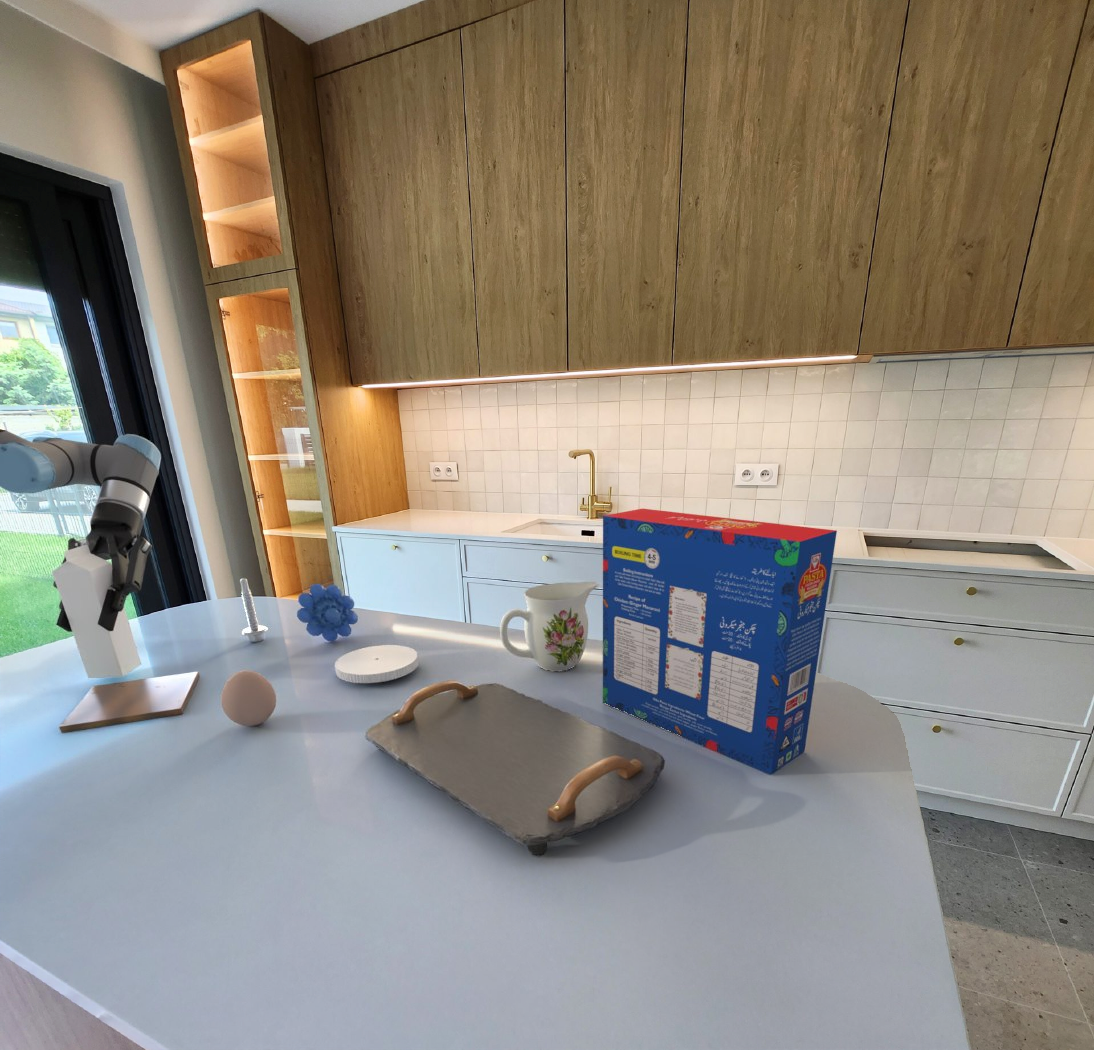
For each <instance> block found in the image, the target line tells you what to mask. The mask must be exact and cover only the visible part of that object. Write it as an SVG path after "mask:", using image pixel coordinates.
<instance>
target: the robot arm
mask: <svg viewBox="0 0 1094 1050" xmlns="http://www.w3.org/2000/svg"><path fill="white" fill-rule="evenodd" d="M161 459H162V454H161V452H160V450H159V448H158V447H157V446H156V445H155V444H154V443H153V442H151V440H148V439H147V438H145V437H143V436H139V435H137V434H130V433H126V434H124V435H123V434H122V435H120V436H118V437H117V438H116V440H115V441H114V443H113V445H110V444H109V445H108V444H96V443H89V442H83V441H77V440H71V439H63V438H61V437H46V436H37V437H35V438H33V439H32V441H30V440H28V439H26V438H24V437H22V436H19V435H17V434H15V433H13V432H11V431H8V430H6V429H5V428H3V427H1V426H0V488H1V489H3V490H5V491H8V492H10V493H13V494H14V493H15V494H37V493H41V492H43V491H44V492H45V491H47V490H53V489H58V488H63V487H68V486H74V485H83V486H84V485H85V486H92V487H93V486H94V487H100V489H99V491H98V495H97V498H96V501H95V505H94V507H93V510H92V513H91V515H90V516H91V517H90V518H89V525H90V531H89V532H88V534H87V535H86V536H85V538H82V539H78V540H77V539H76V538H74V537H71V538H69V539H68V541H67V550H71V549H74V548H77V547H80V546H84V545H88V547H89V550H90V553H91V554H93V555H95V556H97V557H100V558H102V559H104V560H106V561H108V560H109V561H110V563H111V565H112V575H113V584H112V585H113V586H112V585H111V587H113V588H114V589H115V591H114V590H112V589H108V590H107V594H106V597H105V600H104V604H103V607H102V610H101V614H100V617H99V620H98V625H100V626H101V627H103V628H105V629H106V630H108V631H113V630H114V626H115V623H116V619H117V616H118V612H119V611H122V610H123V607H124V608H125V603H126V600H127V597H128V596H130V594H131V593H136V594H138V593H140V592H141V590H142V585H143V582H144V581H143V580H144V575H145V570H146V565H147V559H148V555H149V554H150V552H151V551H152V548H153V545H152V544H151V542H149V541H148V540H147V539H146V538H145V537H143V536H141V533H142V529H143V526H144V520H145V518H146V514H147V511H148V509H149V505H150V500H151V496H152V493H153V490H154V488H155V484H156V480H157V478H158V476H159V472H160V471H159V470H160V465H161ZM129 553H130V555H129ZM65 562H66V557H65V556H64V558H63V560H62V562H61V565H62V564H63V563H65ZM52 586H53V587H54V588H55V589H57V590H58V588H57V585H56V582H55V580H54V581H53V584H52ZM58 609H59V610H60V611H59V614H58V617H57V620H56V626H57V627H59V628H61V629H63V630H65V631H66V632H67V633H73V632H72V629H71V626H70V623H69V620H68V617H67V615H66V612H65V609H64V606H63V603H62V600H61V599H60V602H59V605H58Z"/></svg>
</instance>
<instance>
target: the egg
mask: <svg viewBox="0 0 1094 1050" xmlns="http://www.w3.org/2000/svg"><path fill="white" fill-rule="evenodd" d="M224 683H225V684H224V686H223V688H222V692H221V696H220V700H221V707H222V710H223V712H224V714H225V716H226V717H227V718H228V719H229V720H231V721H233V723H235V724H238V725H240V726H244V727H254V726H255V727H256V726H258V725H262V724H263V723H264V722H266V721H267V720H268V719H269V718H270V717H271V716H272V714H273V713H274V710H275V709H276V706H277V695H276V691H275V689H274V687H273V685H272V684H271V682H270V681H269V680H268V679H267V678H266V677H265V676H263V675H262V674H260V673H259V672H256V671H254V670H249V669H248V670H247V669H245V670H244V669H243V670H240V671H237V672H235V673H233V674H232V675H231V676H230V677H229V678H228V679H227V680H226V681H225V682H224Z"/></svg>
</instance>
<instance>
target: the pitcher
mask: <svg viewBox="0 0 1094 1050" xmlns="http://www.w3.org/2000/svg"><path fill="white" fill-rule="evenodd" d="M599 586H600V582H598V581H582V582H581V581H580V582H556V583H554V582H553V583H545V584H542V585H536V586H534V587H533V586H532V587H530V588H528V589H526V590H525V591H524V598H525V602H526V606H527V607H526V610H524V609H521V608H512V609H510V610H508V611H506V613H505V614H504V615H503V616H502V618H501V620H500V624H499V636H500V641H501V643H502V645H503V647H504V648H505V649H506V650H507V651H508V652H509V653H510V654H512V655H513V656H516V657H519V658H527V659H529V658H530V659H533V660H534V662H535V663H536V664H537V665H538V667H539V666H540V667H541V668H543V669H545V670H544V671H547V670H552V671H551V672H554V671H558V672H560V671H559V670H566V669H569V668H571V667H573V666H575V665H576V666H577V664H578V663H579V661H580V660H581V659H582V657H583V655H584V652H585V649H586V647H587V641H588V637H589V617H588V613H587V610H586V609H587V608H586V603H587V600H588V598H589V596H590V594H591V592H593V590H595V589H596V588H597V587H599ZM514 618H523V619H524V621H523V623H524V624H523V628H524V638H525V641H526V646H527V649H524V648H523V649H522V648H519V647H516V646H515V645H514V644H512V643H511V642H510V640H509V637H508V636H509V635H508V626H509V624H510V622H511V620H512V619H514ZM576 666H575V667H576ZM540 667H539V668H540ZM541 668H540V669H541ZM543 669H542V670H543ZM566 671H567V670H566Z"/></svg>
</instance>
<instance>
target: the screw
mask: <svg viewBox="0 0 1094 1050" xmlns="http://www.w3.org/2000/svg"><path fill="white" fill-rule="evenodd" d="M239 584H240V588H241V594H242V595H241V598H242V600H243V606H244V609H245V610H244V611H245V612H246V613H245V614H246V617H247V623H248V627H246V628H244V629H243V630H242V631H241V635H242V636H246V637H248V639H249V640H248V641H249V642H251V643H258V642H262V641H264V639H265V638H264V634H265V633H267V632H268V631H269V629H268V627H266V626H265V625H259V621H258V618H257V613H256V610H255V609H256V607H255V604H254V601H253V600H254V598H253V595H252V592H251V589H250V586H249V583H248V579H247V578H244V577H242V578H241V579H239Z"/></svg>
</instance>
